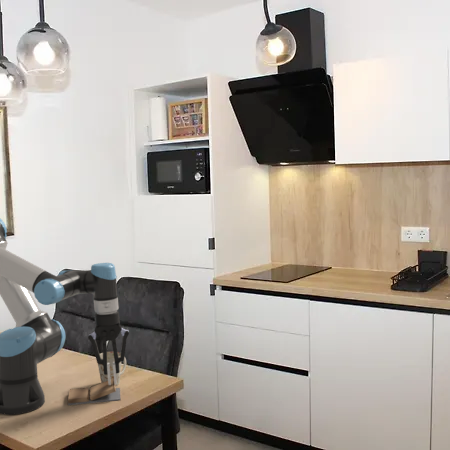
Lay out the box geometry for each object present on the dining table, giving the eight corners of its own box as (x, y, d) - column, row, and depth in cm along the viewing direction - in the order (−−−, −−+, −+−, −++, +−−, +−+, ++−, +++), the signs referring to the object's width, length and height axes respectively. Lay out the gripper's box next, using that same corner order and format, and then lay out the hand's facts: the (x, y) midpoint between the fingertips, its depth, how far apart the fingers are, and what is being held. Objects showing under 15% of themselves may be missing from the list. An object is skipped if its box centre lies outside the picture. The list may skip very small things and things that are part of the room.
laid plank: (68, 403, 180) (68, 399, 180) (70, 392, 189) (70, 389, 189) (89, 401, 181) (88, 397, 181) (90, 391, 190) (89, 387, 190)
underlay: (68, 405, 180) (68, 404, 180) (70, 393, 190) (70, 392, 189) (120, 400, 183) (120, 398, 183) (120, 388, 193) (119, 387, 193)
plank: (91, 400, 181) (89, 397, 181) (91, 390, 190) (90, 386, 190) (115, 391, 183) (114, 387, 183) (115, 381, 192) (114, 378, 191)
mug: (92, 386, 196) (91, 357, 195) (116, 374, 207) (115, 346, 206) (112, 389, 192) (111, 360, 191) (135, 377, 203) (134, 349, 202)
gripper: (83, 316, 180) (89, 390, 182) (129, 312, 182) (135, 384, 184) (84, 311, 187) (90, 382, 189) (128, 306, 190) (134, 376, 192)
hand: (112, 383), depth 187 cm, fingers closed
